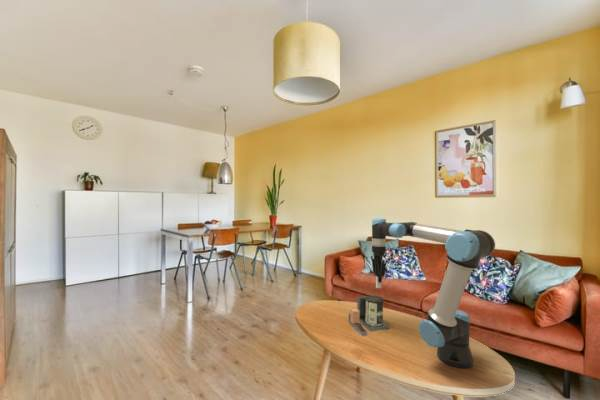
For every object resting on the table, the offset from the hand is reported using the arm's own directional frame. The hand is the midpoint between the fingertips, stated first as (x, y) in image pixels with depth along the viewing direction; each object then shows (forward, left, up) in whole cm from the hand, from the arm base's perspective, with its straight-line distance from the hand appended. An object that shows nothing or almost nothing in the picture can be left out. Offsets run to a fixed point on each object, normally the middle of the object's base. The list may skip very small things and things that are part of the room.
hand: (378, 287), depth 157 cm
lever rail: (+7, +9, -26) cm, 28 cm away
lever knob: (+11, +9, -23) cm, 27 cm away
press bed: (+11, -3, -26) cm, 28 cm away
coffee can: (+9, -2, -24) cm, 25 cm away
